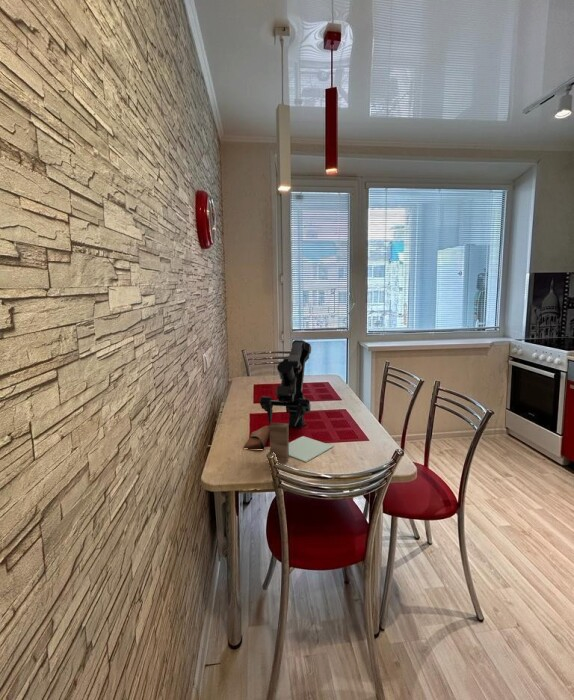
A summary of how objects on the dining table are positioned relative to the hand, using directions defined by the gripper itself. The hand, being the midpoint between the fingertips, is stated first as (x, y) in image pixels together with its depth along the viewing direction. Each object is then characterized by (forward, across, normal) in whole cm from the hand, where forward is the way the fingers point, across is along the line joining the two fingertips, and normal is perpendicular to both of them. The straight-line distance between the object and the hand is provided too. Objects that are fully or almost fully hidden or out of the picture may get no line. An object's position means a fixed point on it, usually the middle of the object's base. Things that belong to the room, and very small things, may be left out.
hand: (282, 424), depth 134 cm
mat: (+4, +7, +12) cm, 15 cm away
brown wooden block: (+11, 0, +5) cm, 12 cm away
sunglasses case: (+1, -12, +16) cm, 20 cm away
